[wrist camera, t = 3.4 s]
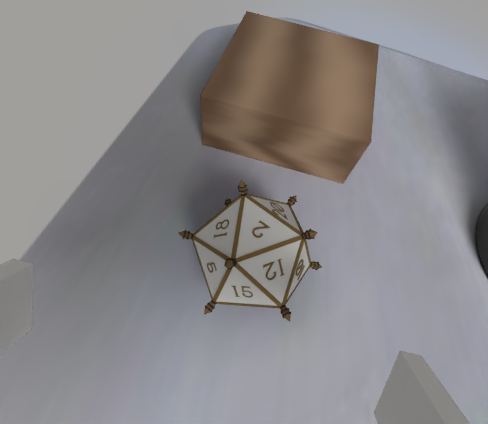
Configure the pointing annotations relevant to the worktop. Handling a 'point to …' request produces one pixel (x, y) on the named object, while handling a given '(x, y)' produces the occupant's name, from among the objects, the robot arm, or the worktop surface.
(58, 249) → the worktop surface
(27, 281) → the robot arm
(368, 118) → the walnut block
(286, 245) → the game die
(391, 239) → the worktop surface
